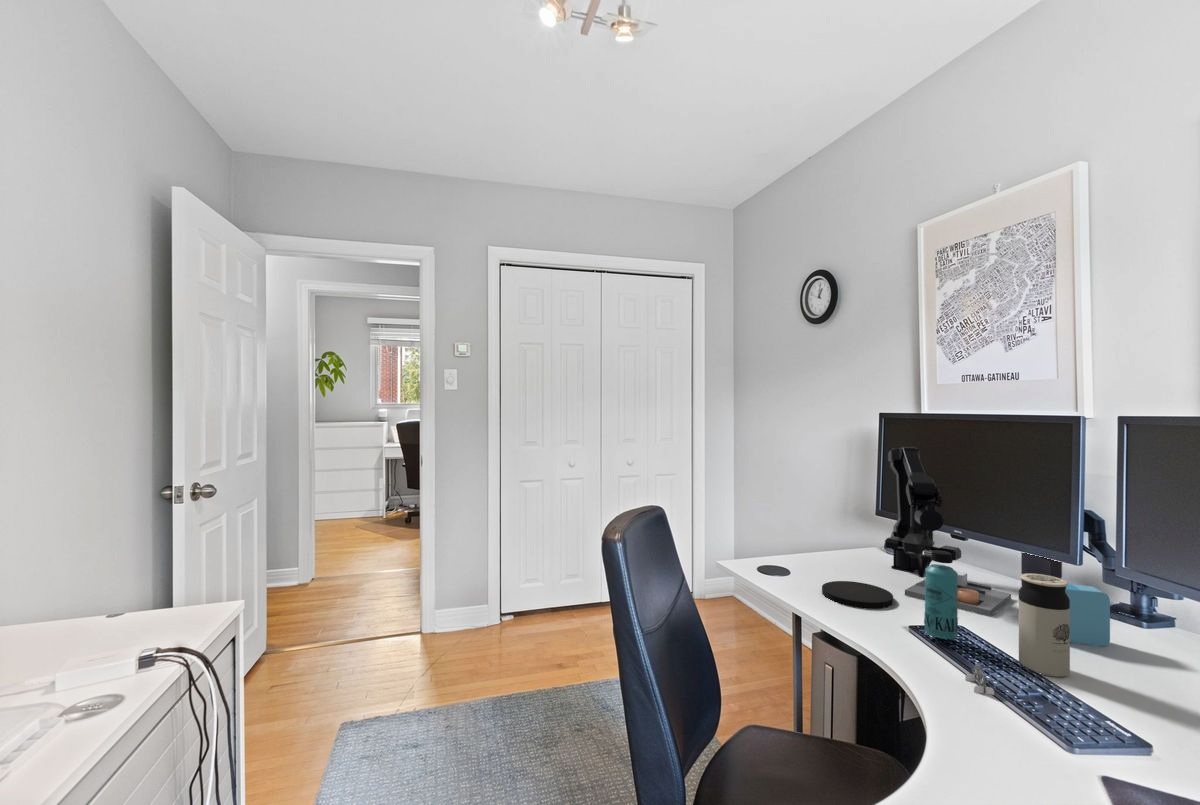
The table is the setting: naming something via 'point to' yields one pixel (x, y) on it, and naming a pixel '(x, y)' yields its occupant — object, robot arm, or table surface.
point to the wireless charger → (857, 594)
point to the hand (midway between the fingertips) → (921, 577)
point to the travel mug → (1044, 625)
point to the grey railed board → (987, 604)
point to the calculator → (1040, 566)
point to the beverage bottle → (941, 597)
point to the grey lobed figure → (979, 681)
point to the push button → (967, 596)
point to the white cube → (962, 578)
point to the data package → (1089, 615)
